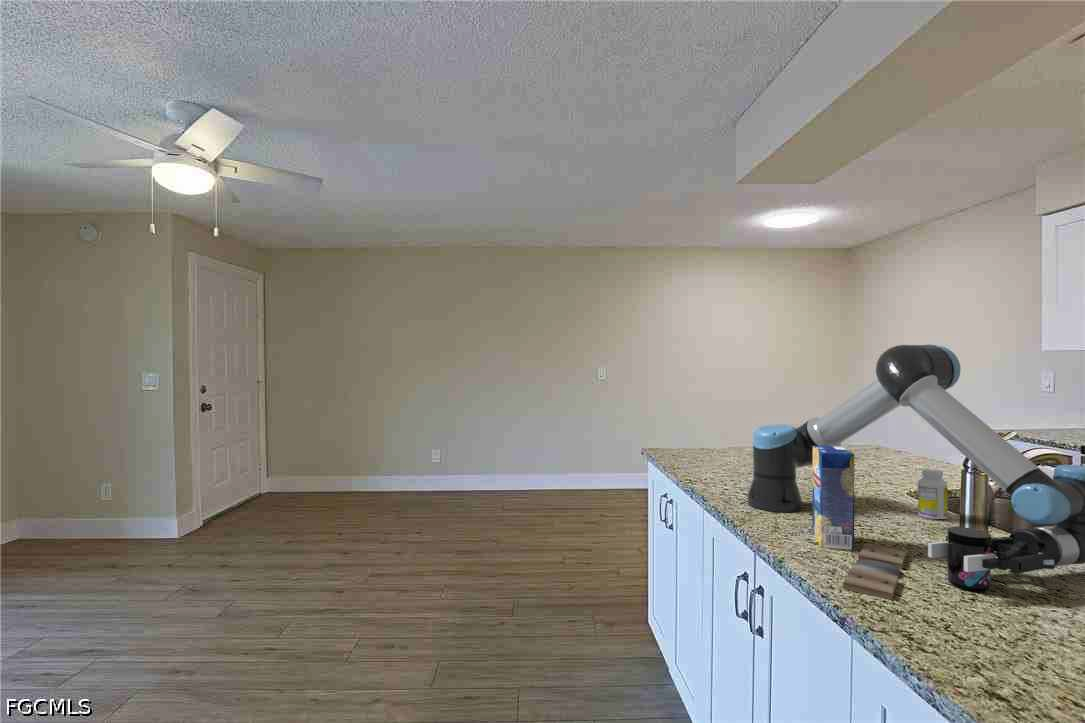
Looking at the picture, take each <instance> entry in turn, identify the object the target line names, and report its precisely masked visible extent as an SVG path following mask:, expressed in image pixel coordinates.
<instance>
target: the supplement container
mask: <svg viewBox="0 0 1085 723" xmlns="http://www.w3.org/2000/svg"><path fill="white" fill-rule="evenodd" d="M946 534H947V535H946V536H947V556H946V557H947V558H946V561H947V564H946V566H947V569H946V572H947V575H946V577H947V578H946V579H947V581H948V583H949V584H950V585H951V586H953V587H955V588H957V589H960V590H964V591H967V592H975V593H983V592H988V591H989V590H990V588H991V570H982V571H973V572H966V571H964V556H969V555H979V554H989V553H991V538H992V536H991V534H990V533H989V532H987V531H984V530H982V529H981V530H980V529H977V528H973V527H971V528H970V527H964V526H951V527H948V528H947V529H946Z"/></svg>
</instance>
